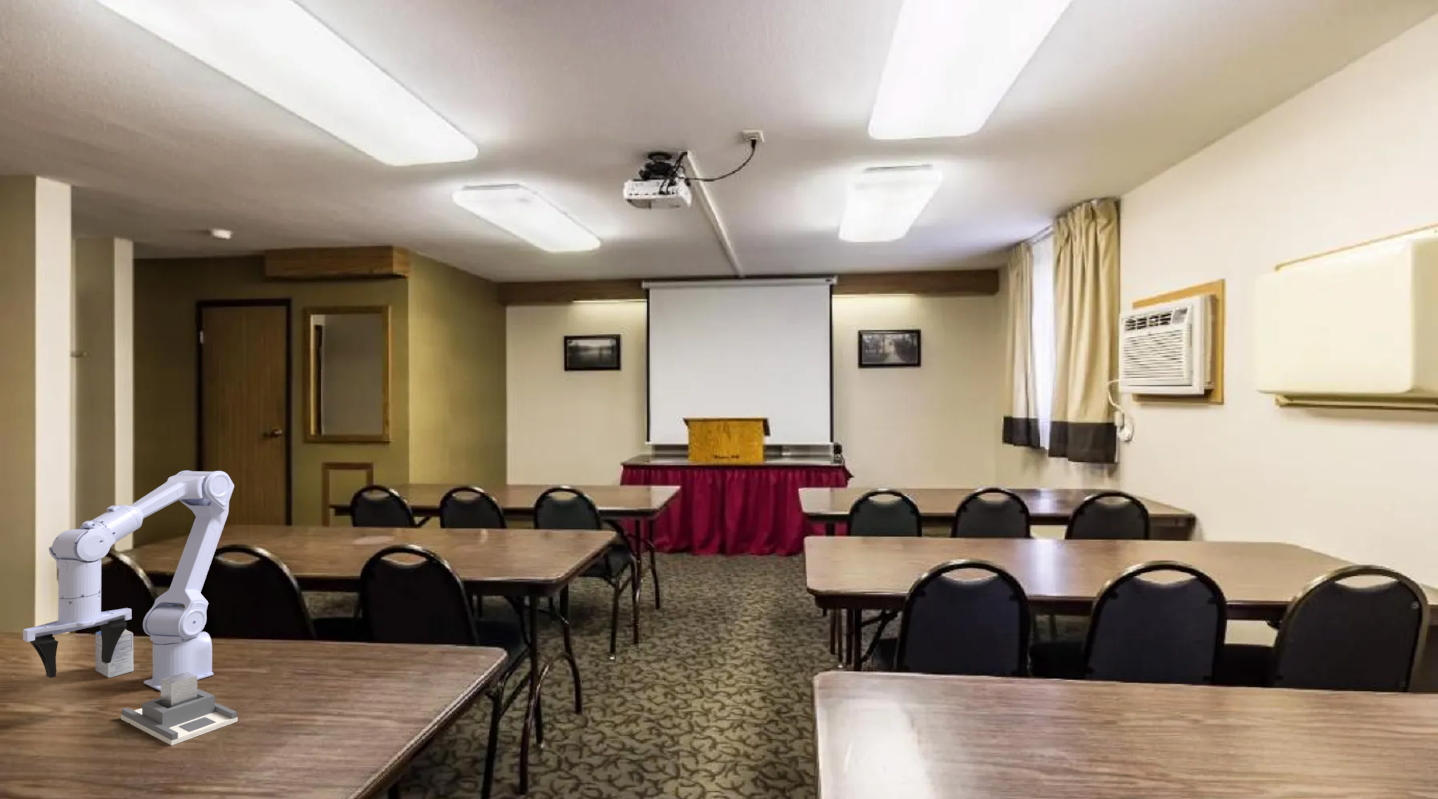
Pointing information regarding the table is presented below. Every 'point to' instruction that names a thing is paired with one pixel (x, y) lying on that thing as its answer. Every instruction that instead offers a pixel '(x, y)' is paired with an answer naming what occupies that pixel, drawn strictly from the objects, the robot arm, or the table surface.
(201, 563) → the robot arm
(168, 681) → the steel square block
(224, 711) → the frame
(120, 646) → the medicine box
